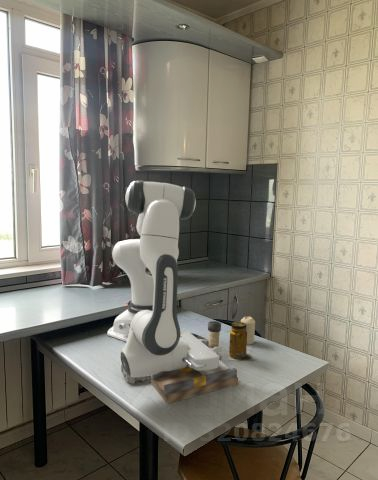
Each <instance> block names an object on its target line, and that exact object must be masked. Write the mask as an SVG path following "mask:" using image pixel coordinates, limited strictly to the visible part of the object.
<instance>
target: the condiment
mask: <svg viewBox="0 0 378 480" xmlns="http://www.w3.org/2000/svg"><path fill="white" fill-rule="evenodd" d="M230 328H231V329H230V331H229V347H228V349H229V350H226V353H227V356H228V359H229V360H230V361H233V362H234V361H237V362H239V361H253V360H254V361H255V358H254V357H253V355H252V353H251V352H250V351H249V350H247V331H246V330H247V329H246V324H245V323H243V322H241V321H234V322H232V323H231V327H230Z"/></svg>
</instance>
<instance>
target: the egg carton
mask: <svg viewBox="0 0 378 480" xmlns="http://www.w3.org/2000/svg"><path fill="white" fill-rule="evenodd" d="M120 370H121V372H122V373H123V374H122V375H123V377H125V382H126V383H130V384H135V382H137V381H141V382H146V380H148V377H149V376H144V377H131V376H129V375H128V374H127V373H126V372H125V370H124V368H123V366H122V364H120Z"/></svg>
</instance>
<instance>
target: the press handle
mask: <svg viewBox="0 0 378 480" xmlns="http://www.w3.org/2000/svg"><path fill="white" fill-rule="evenodd" d="M207 330H208V332H209V333H208V340H209V348H214V346H215V345H219V346H220V332H221V331H222V322H220V321H216V320H211V321H209V322H208V323H207ZM219 353H220V352H219ZM219 353H216V354H218V355H219ZM219 356H220V355H219ZM229 369H231V368H230V367H229V366H227V364H225V363H224V362H223V361H222V360H221V361H220V360H219V366H218V368H216V369H211V370H204V371H198V372H199V373H200V374H201V375H202V376H204V375H208V374H212V373H216V372H220V371H224V370H229Z"/></svg>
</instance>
